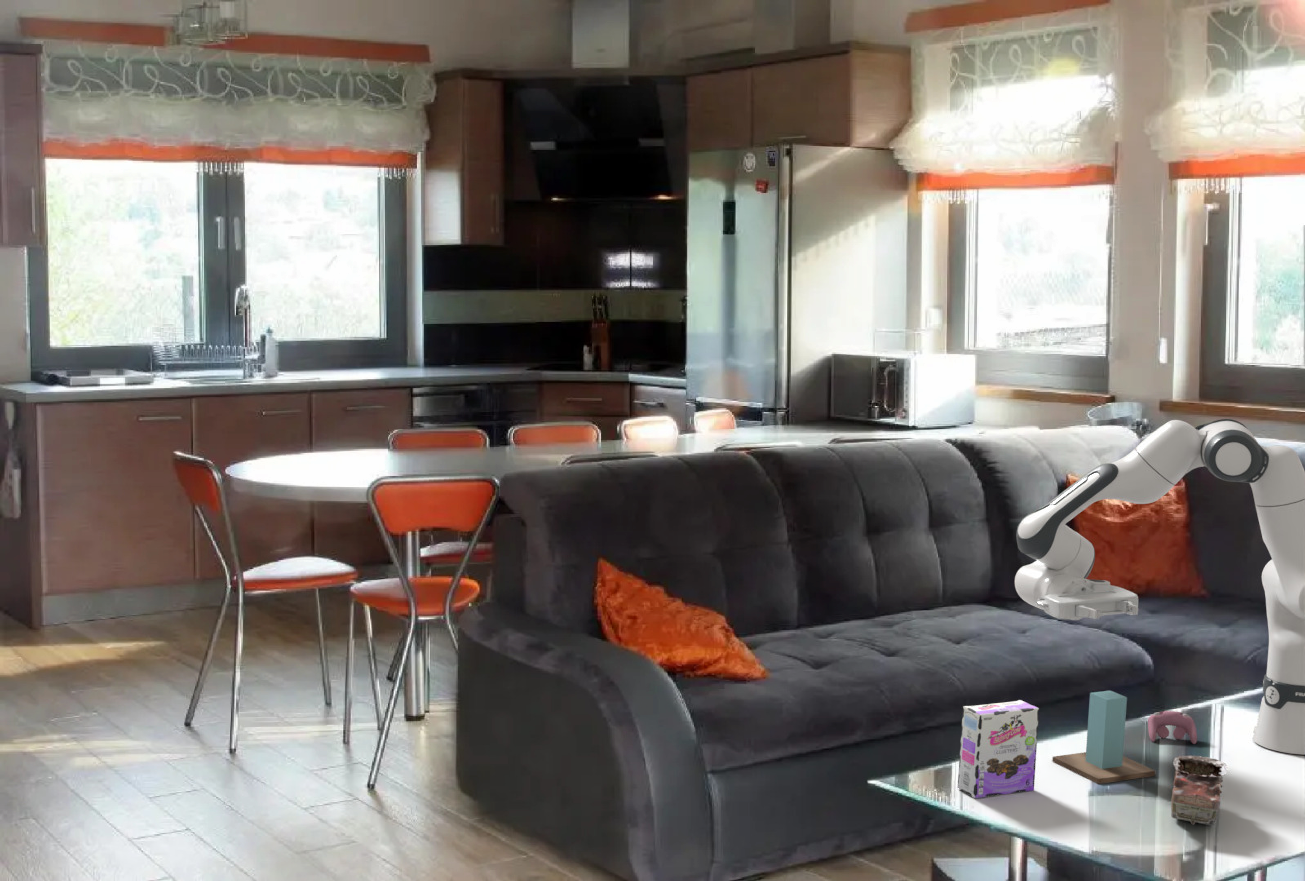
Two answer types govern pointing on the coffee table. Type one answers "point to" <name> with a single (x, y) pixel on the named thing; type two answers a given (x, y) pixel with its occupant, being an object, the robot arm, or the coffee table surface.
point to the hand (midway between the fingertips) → (1116, 613)
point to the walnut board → (1099, 775)
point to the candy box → (998, 748)
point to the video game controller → (1173, 718)
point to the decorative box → (1197, 789)
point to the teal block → (1106, 729)
